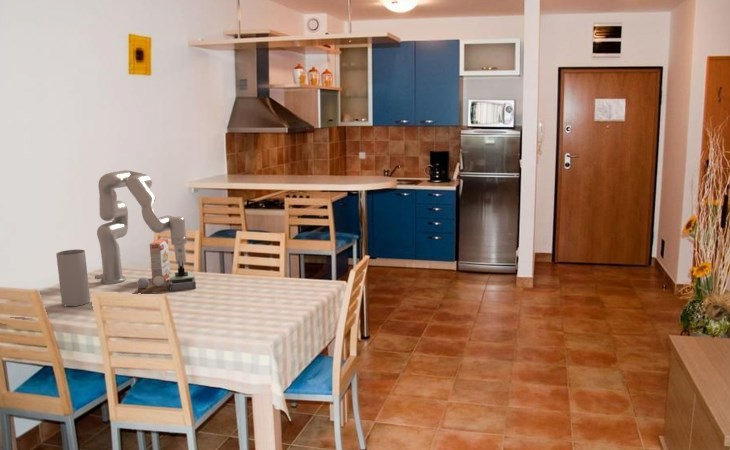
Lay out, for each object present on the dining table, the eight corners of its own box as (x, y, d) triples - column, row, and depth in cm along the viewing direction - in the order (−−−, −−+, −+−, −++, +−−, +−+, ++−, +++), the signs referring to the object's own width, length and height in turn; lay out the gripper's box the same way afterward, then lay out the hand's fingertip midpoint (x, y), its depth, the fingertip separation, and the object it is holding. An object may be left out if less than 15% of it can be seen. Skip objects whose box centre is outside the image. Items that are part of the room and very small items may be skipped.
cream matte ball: (153, 288, 344) (152, 278, 343) (153, 286, 349) (152, 275, 348) (165, 287, 346) (164, 276, 345) (164, 284, 351) (164, 274, 350)
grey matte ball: (137, 290, 342) (136, 279, 341) (138, 287, 347) (137, 276, 346) (149, 289, 344) (148, 278, 343) (149, 286, 349) (148, 275, 348)
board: (137, 294, 340) (137, 291, 340) (138, 289, 350) (137, 286, 350) (166, 291, 344) (166, 288, 344) (166, 286, 354) (166, 283, 354)
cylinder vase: (63, 308, 320) (57, 256, 316) (61, 302, 331) (55, 251, 327) (91, 304, 326) (86, 253, 321) (88, 298, 337) (83, 248, 332)
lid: (169, 280, 351) (169, 275, 350) (169, 275, 362) (168, 270, 362) (194, 278, 354) (194, 273, 354) (193, 272, 366) (192, 267, 365)
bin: (170, 291, 344) (170, 284, 343) (169, 279, 367) (168, 273, 367) (195, 288, 348) (195, 281, 347) (193, 277, 371) (192, 271, 370)
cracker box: (163, 282, 362) (160, 243, 358) (152, 282, 362) (148, 244, 358) (171, 275, 376) (168, 238, 372) (160, 276, 376) (157, 238, 372)
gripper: (187, 243, 345) (189, 278, 348) (185, 237, 359) (188, 271, 362) (171, 244, 343) (174, 279, 346) (170, 238, 357) (173, 273, 360)
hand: (181, 275), depth 354 cm, fingers closed
